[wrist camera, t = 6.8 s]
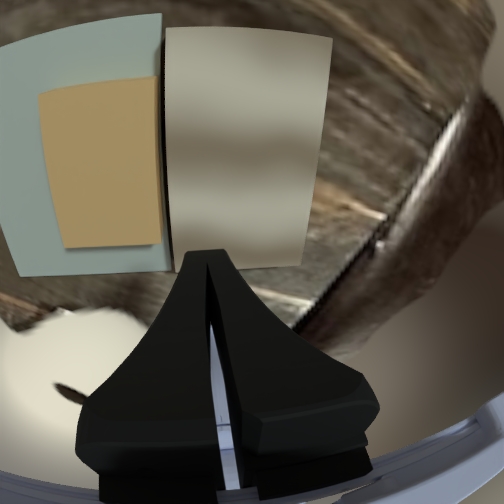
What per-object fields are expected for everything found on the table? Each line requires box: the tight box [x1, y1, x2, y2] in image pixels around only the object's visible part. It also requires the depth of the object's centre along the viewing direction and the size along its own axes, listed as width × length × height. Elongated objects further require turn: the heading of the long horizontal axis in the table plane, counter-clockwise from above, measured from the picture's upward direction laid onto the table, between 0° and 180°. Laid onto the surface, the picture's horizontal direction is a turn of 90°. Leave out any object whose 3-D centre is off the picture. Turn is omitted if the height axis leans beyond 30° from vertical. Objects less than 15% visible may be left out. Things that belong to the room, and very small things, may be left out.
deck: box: [165, 27, 333, 273], centre depth 17 cm, size 14×8×2 cm, turn 177°
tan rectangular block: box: [38, 76, 163, 248], centre depth 15 cm, size 9×6×2 cm, turn 176°
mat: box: [0, 13, 172, 277], centre depth 16 cm, size 16×12×1 cm
